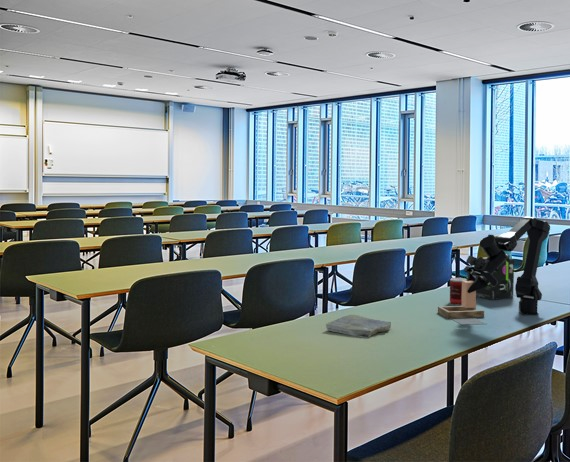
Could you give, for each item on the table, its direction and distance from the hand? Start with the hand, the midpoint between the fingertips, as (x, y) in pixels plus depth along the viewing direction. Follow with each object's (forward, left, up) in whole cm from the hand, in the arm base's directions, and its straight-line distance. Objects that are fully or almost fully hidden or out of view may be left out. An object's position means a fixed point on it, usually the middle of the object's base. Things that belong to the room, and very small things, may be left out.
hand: (465, 291), depth 235 cm
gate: (-6, -25, -12) cm, 28 cm away
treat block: (-1, 0, -6) cm, 6 cm away
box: (-22, -54, -13) cm, 60 cm away
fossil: (+41, +16, -13) cm, 46 cm away
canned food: (-3, -38, -13) cm, 40 cm away
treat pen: (+1, -17, -12) cm, 21 cm away
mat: (-1, 0, -12) cm, 13 cm away
